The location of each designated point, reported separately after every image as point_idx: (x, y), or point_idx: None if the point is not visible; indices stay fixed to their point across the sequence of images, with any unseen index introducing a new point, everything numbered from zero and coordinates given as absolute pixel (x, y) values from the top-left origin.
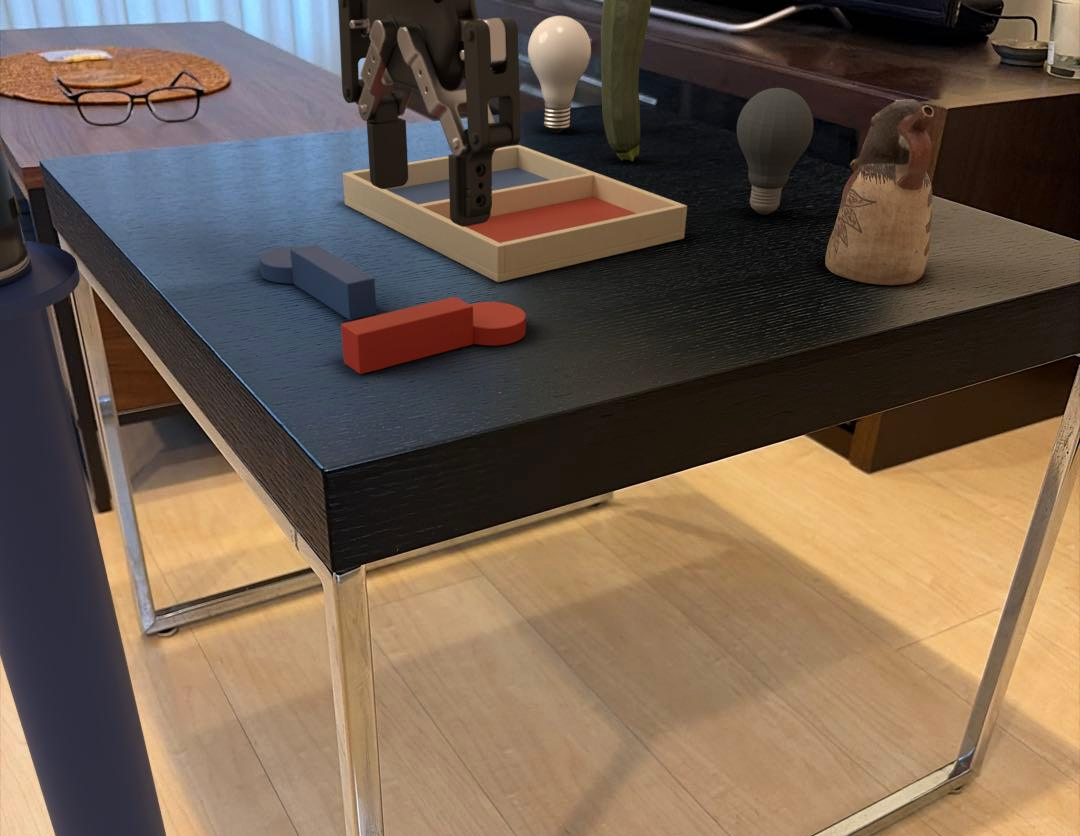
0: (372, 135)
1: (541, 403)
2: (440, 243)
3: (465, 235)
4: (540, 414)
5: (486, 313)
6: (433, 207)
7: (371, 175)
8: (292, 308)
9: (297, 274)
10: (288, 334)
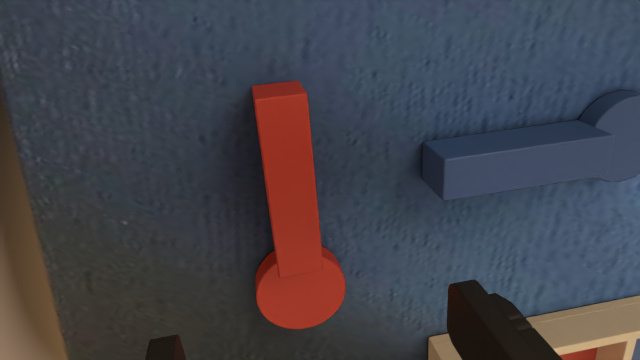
0: (509, 352)
1: (75, 252)
2: (553, 322)
3: None
4: (44, 240)
5: (307, 290)
6: (621, 351)
7: (477, 289)
8: (506, 87)
9: (574, 127)
10: (429, 48)
